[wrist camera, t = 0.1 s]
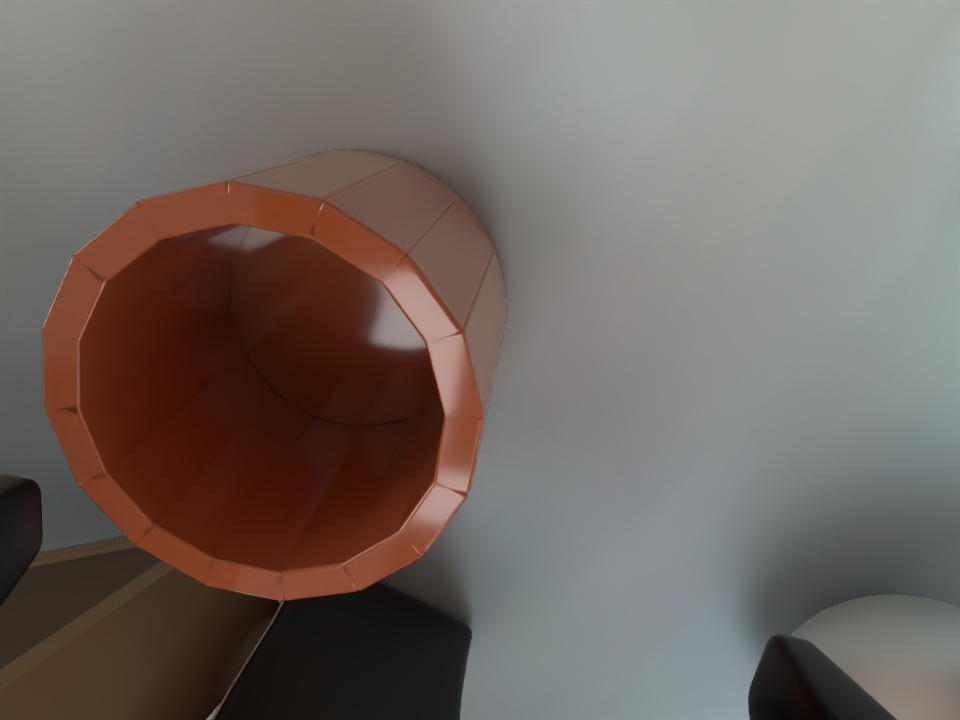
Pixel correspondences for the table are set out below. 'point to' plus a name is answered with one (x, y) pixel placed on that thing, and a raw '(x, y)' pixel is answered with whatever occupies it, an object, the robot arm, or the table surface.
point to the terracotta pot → (280, 371)
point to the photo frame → (121, 638)
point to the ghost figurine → (895, 651)
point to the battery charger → (353, 662)
